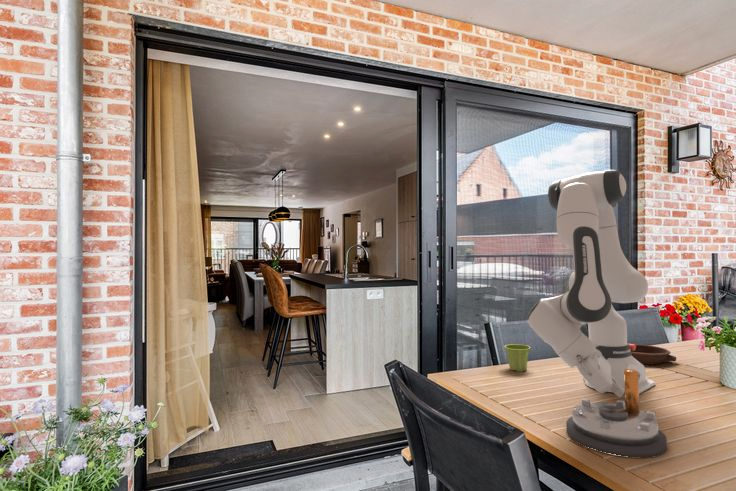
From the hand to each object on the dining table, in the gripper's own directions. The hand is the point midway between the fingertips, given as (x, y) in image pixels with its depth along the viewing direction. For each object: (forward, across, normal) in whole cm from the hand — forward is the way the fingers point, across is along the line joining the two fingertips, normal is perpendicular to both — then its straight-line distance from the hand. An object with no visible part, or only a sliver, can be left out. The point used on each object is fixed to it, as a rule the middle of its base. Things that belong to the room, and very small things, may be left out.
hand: (621, 394), depth 107 cm
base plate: (+5, -7, +8) cm, 11 cm away
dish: (+13, +75, -1) cm, 76 cm away
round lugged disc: (+3, -7, +6) cm, 10 cm away
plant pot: (-17, +44, +30) cm, 56 cm away
